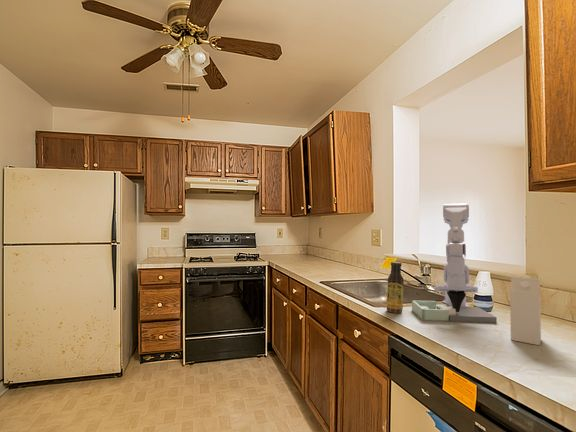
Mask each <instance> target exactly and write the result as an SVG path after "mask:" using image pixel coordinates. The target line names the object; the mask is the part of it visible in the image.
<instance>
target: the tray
mask: <svg viewBox="0 0 576 432" xmlns="http://www.w3.org/2000/svg"><path fill="white" fill-rule="evenodd" d="M421 306H427V307H428V308H429V309H423V308H422V307H421ZM436 306H437V301H436V300H411V311H412V312H413V313H414V314H415V315H416V316H417V317H418V318H420V320H421V321H427V322H429V321H430V322H431V321H433V322H450V321H449V310H442V309H437V308H436Z"/></svg>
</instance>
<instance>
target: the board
mask: <svg viewBox="0 0 576 432" xmlns="http://www.w3.org/2000/svg"><path fill="white" fill-rule="evenodd" d="M440 306H441V305H436V308H437V309H440ZM446 306H447V307H451V306H449V305H446ZM448 322H453V323H454V322H455V323H456V322H457V323H459V322H460V323H485V324H486V323H490V324H495V323H497V317H496V316H495V315H493V314H492V313H490V312H487V311H486V310H484V309H482V308H480V307H479V306H477V307H476V306H475V307H474V306H470V307H460V310H459V312H456V315H449V321H448Z"/></svg>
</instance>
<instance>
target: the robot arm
mask: <svg viewBox="0 0 576 432" xmlns="http://www.w3.org/2000/svg"><path fill="white" fill-rule="evenodd" d="M442 217H443V221H444V223H445V224H447V225H449V227H450V229H448V231H447V243H446V245H445V256H446V262H447V263H446V264H445V265H444V266H443V281H444V283H445V284H444V285H434V291H435V292H438V293H440V292H444V300H442V303H445V305H446V306H451V307H453V308H454V309H456V312H459V310H460V307H471V306H470V305H468V304H467V297H466V296H467V293H474V294H475V293H477V294H478V291H479V290H478V289H479V288H478V286H474V285H473V286H470V285H469V284H470V269H469V266H468V265H467V264H466V263H465V260H466V255H467V249H466V248H467V245H466V241H465V232H464V230H463V229H462V228H463V226H464V225H465V224H468V223H469V222H468V221H469V217H470V206H469V204H468V203H450V204H449V203H448V204H447V203H444V204H443V206H442Z"/></svg>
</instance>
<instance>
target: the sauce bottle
mask: <svg viewBox="0 0 576 432" xmlns="http://www.w3.org/2000/svg"><path fill="white" fill-rule="evenodd" d="M390 266H391V270H390V274H389V275H388V278H387V287H386V311H387V312H389V313H392V314H400V313H402V312H403V308H404V278H403V276H402V262H399V261H391V262H390Z"/></svg>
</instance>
